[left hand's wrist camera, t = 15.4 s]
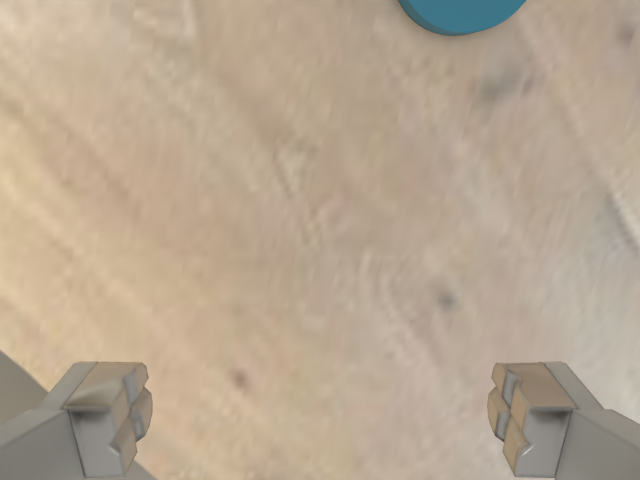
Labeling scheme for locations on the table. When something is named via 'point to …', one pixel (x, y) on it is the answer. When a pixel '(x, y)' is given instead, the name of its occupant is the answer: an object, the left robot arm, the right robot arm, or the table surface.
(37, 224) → the table surface
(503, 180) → the table surface
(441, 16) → the camera mount
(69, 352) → the table surface
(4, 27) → the table surface
